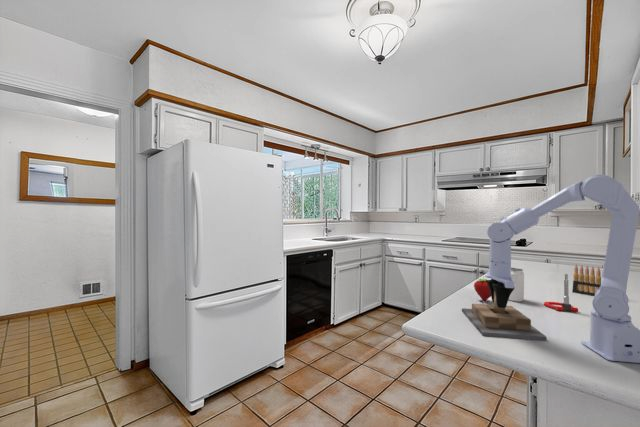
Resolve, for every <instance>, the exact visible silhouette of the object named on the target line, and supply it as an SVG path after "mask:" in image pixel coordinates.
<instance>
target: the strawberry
mask: <svg viewBox="0 0 640 427" xmlns="http://www.w3.org/2000/svg"><path fill="white" fill-rule="evenodd" d="M486 280H487V279H486V278H478V280H476V281H475V282H474V284H473V288H474V290H475V292H476V293H477V295H478V296H479V297H480V298H481V300H483V301H485V302H486V301H487V300H488V299H489V298H491V293H490V289H489V287H488V285H487V283H486Z"/></svg>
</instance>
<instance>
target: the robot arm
mask: <svg viewBox="0 0 640 427" xmlns="http://www.w3.org/2000/svg"><path fill="white" fill-rule="evenodd" d="M585 198H587V199H589V200H591V201H593V202H595V203H598V204H599V205H601V206H602V207H603V208H604V209H606V210H607V211H608V212H609V213H611V215H612V216H611V222H610V228H609V234H608V240H607V244H606V252H605V258H604V263H603V270H602V273H603V275H602V274H601V286H600V288H599V289H597V290H596V292H595V295H594V296H593V299H592V307H593V309H590V328H589V330H590V331H589V335H590V336H589V341H587V340H582V341H581V342H580V343H581V344H583V345H584V346H585V347H587V348H589V349H590V350H591V351H594V352H595V353H596V354H598V355H599V356H601V357H602V358H603V359H606V360H607V361H612V362H625V363H637V364H640V329H639V328H638V327H636V326H635V325H634V324H633V321H632V316H631V315H629V313H630V306H629V296H628V295H627V288H628V279H629V274H630V269H631V268H630V267H631V262H632V257H633V252H634V251H633V250H634V245H635V239H636V232H637V228H638V227H637V226H638V223H639V217H640V216H639V215H640V206H639V205H638V203H637V202H636V201H635V200H634V198H633V197H632V195H630V193H629V192H628V191H627V189H626V188H625V186H624V185H623V184H622V183H621V182H620V181H618V180H616V179H614V178H613V177H611V176H609V175H607V174H594V175H591V176H589V177H587V178H586V179H585V180H584V181H583V180H580V181H578V182H576V183H574V184H572V185H569V186H567V187H565V188H563V189H562V190H559V191H558V192H557V193H555V194H553V195H551V196H550V197H548V198H547V199H545V200H543V201H542V202H539V203H538V204H537V205H535V206H533V207H532V208H531V207H524V206H523V207H522V208H520V207H518V208H516V209H515V210H514V211H515V212H514V213H512V214H510V215H508V216H506V217H502V218H500V219H499V221H500V222H498V221H497V222H496V221H495V222H493V223H492V224H490V225H489V227H488V229H487V230H486V231H487V237H488V238H489V251H488V252H489V254H488V255H489V256H488V261H489V264H488V270H487V271H486V272H487V273H486V274H484V278H485V279H486V278H487V279H486V283H487V285H488V287H489V289H490V293H491V297H490V298H491V301H492V304H494V291H495V295H496V302H497V306H498V307H499V308H506V306H508V302H509V300H508V299H509V297H510V294H511V293H512V291H513V290H514V288H515V287H514V281H512V277H511V268H512V267H511V266H512V238H513V237H514V236H515V235H516V236H517V235H519V234H520V233H522V232H525V231H526V230H527V231H528V230H529V229H530V228H533V227H534V226H536V225H538V224H539V221H540V218H541V217H543V216H545V215H547V214H548V213H551V212H553V211H555V210H558V209H559V208H561V207H563V206H565V205H566V204H569V203H572V202H573V203H574V202H583V201H586V199H585Z"/></svg>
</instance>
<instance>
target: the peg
mask: <svg viewBox="0 0 640 427" xmlns="http://www.w3.org/2000/svg"><path fill="white" fill-rule="evenodd" d="M493 305H494V313H499V314H505V308H499V307H498V306H497V302H496V295H495V291H494V303H493Z"/></svg>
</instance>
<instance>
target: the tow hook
mask: <svg viewBox="0 0 640 427" xmlns="http://www.w3.org/2000/svg"><path fill="white" fill-rule="evenodd" d="M568 278H569V276H568V274H567V273H564V279H563V302H559V301H544V302H543V306H545V307H547V308H551V309H554V310H555V311H558V312H572V311H573V312H574V313H576V312H577V313H578V312H579V308H578V307H575V306H573V305H572V304H571V303H570V296H569V279H568Z"/></svg>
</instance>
